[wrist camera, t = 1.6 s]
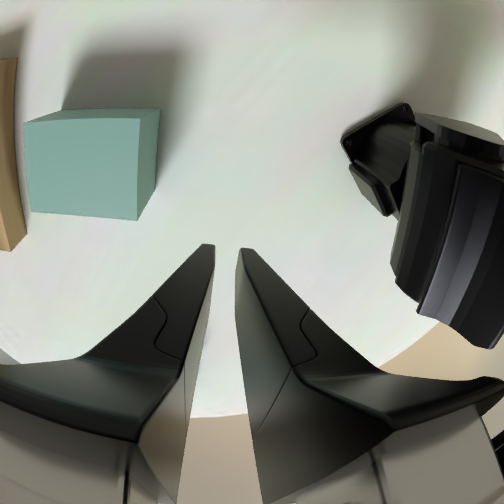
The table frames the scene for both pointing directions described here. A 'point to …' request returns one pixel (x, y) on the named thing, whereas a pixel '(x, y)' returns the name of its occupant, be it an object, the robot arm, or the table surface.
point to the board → (9, 163)
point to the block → (92, 161)
